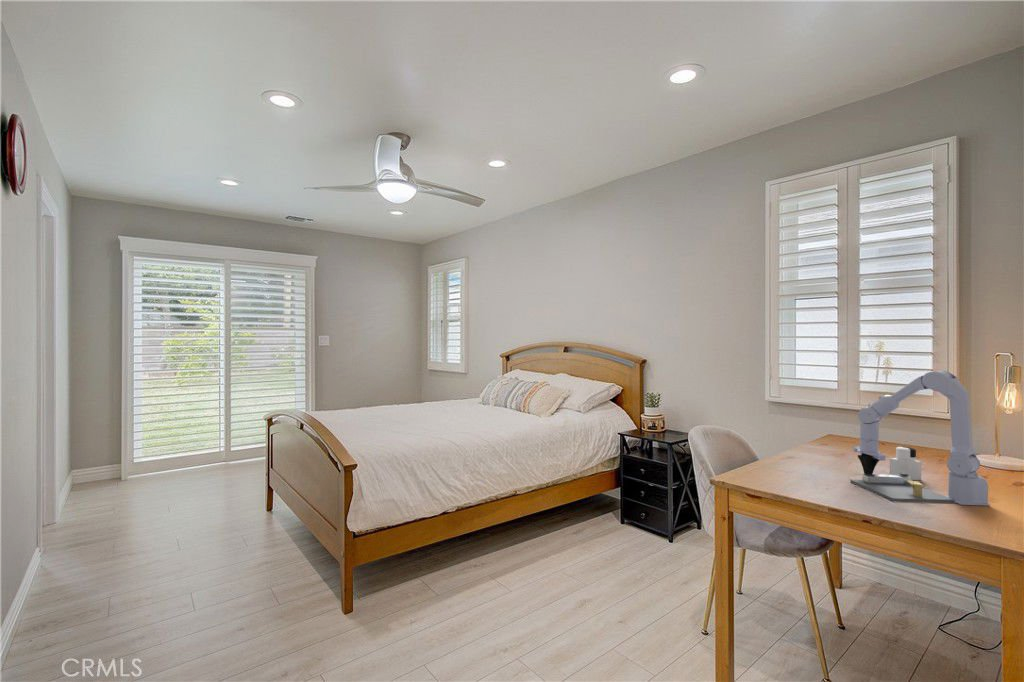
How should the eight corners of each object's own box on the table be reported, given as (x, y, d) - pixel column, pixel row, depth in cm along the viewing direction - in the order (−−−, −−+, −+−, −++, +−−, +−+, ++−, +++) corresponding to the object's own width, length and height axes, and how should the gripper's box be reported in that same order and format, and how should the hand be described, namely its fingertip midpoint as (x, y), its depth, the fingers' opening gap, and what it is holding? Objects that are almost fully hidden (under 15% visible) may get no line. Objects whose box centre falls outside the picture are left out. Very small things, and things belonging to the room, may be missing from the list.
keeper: (906, 491, 169) (907, 479, 169) (918, 492, 168) (918, 480, 168) (912, 496, 164) (912, 483, 163) (924, 497, 162) (924, 485, 162)
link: (905, 481, 180) (905, 474, 180) (913, 484, 176) (914, 477, 176) (861, 480, 181) (861, 473, 181) (869, 483, 177) (869, 476, 177)
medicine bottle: (901, 474, 194) (902, 444, 193) (921, 479, 187) (922, 448, 187) (889, 476, 191) (889, 445, 191) (908, 481, 184) (909, 450, 184)
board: (904, 483, 182) (904, 471, 182) (954, 502, 161) (954, 488, 161) (850, 482, 182) (850, 470, 182) (892, 501, 161) (893, 487, 161)
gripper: (845, 435, 192) (845, 469, 192) (872, 443, 177) (871, 480, 178) (863, 435, 192) (863, 469, 192) (891, 443, 177) (890, 480, 177)
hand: (868, 474), depth 185 cm, fingers closed
